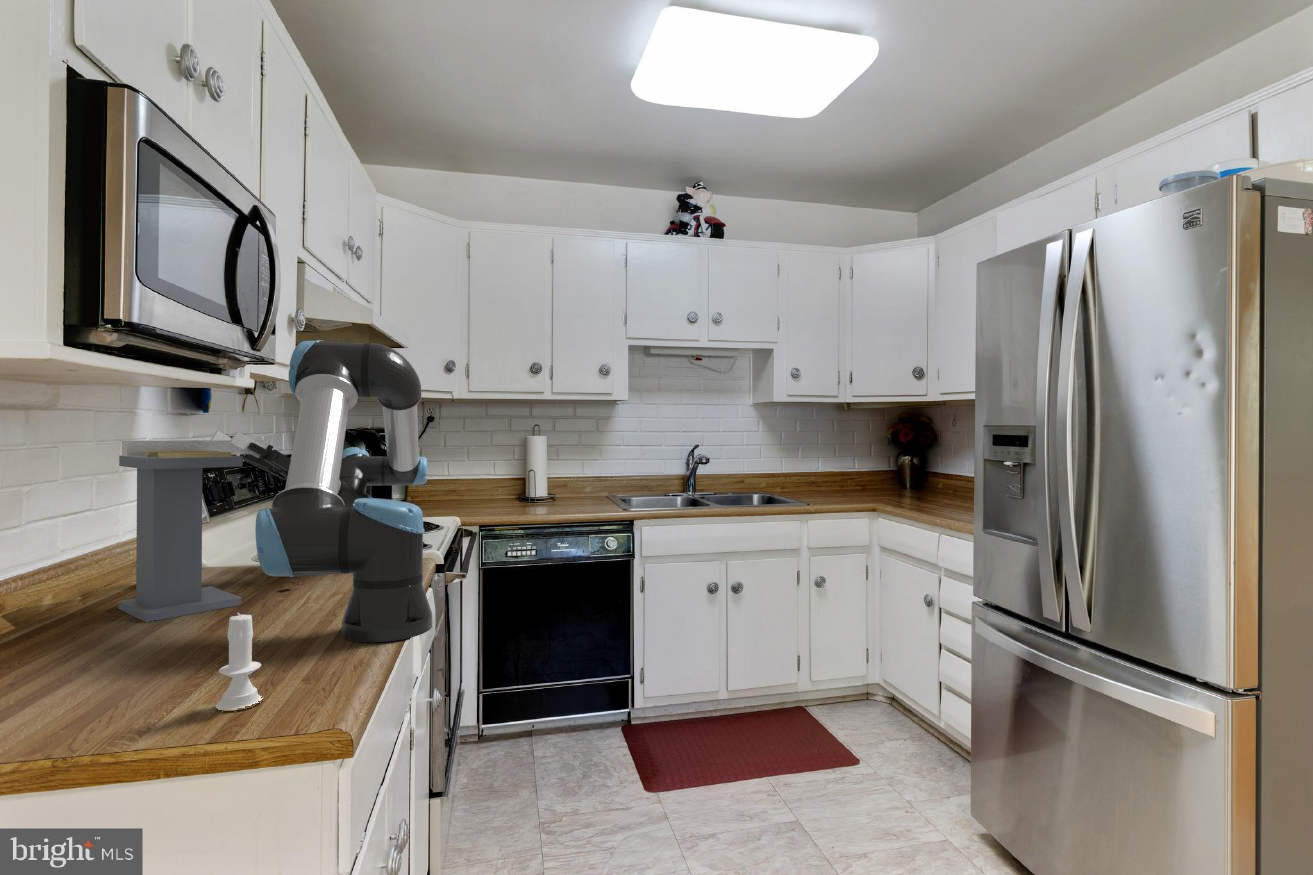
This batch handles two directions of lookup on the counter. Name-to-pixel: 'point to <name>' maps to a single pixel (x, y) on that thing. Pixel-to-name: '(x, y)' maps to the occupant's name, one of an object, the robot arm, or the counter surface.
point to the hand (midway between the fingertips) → (223, 436)
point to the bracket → (188, 454)
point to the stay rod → (181, 446)
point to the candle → (239, 665)
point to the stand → (172, 538)
